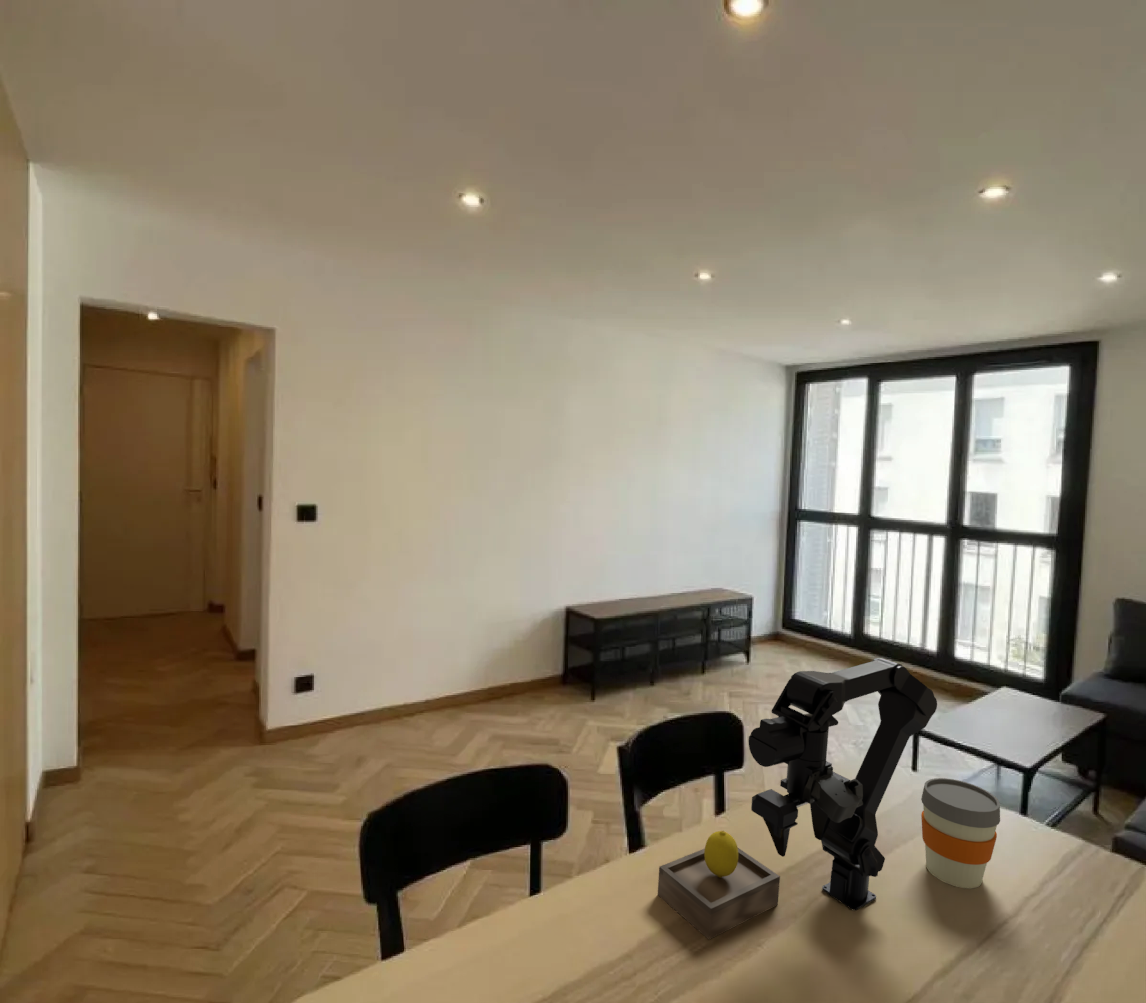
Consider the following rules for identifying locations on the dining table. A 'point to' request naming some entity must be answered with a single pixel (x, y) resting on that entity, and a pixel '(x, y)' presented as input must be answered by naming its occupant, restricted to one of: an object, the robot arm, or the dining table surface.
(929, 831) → the reusable coffee cup
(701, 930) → the wooden tray
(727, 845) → the lemon
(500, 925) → the dining table surface
